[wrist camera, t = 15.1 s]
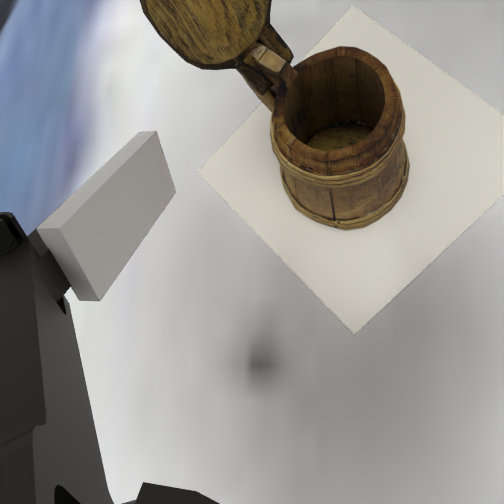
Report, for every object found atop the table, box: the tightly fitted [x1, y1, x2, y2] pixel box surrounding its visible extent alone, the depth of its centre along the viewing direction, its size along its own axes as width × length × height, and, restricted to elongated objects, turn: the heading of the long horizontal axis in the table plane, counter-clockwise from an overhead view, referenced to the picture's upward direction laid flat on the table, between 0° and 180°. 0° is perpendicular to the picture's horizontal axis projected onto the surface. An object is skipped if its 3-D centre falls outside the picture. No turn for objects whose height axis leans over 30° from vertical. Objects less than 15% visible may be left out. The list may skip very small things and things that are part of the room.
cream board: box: [197, 5, 504, 335], centre depth 30 cm, size 18×18×1 cm
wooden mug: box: [140, 0, 410, 230], centre depth 22 cm, size 9×14×18 cm, turn 50°
